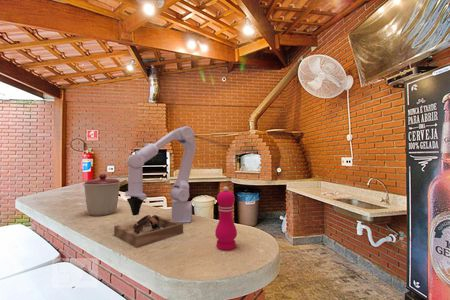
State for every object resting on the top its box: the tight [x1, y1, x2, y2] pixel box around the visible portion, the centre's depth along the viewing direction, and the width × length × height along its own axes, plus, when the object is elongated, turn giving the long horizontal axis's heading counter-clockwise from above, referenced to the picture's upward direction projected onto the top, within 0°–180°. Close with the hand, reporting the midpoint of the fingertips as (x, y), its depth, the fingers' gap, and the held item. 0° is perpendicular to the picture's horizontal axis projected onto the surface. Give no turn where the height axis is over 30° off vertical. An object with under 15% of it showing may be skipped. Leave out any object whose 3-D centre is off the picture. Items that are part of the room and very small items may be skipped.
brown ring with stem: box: [132, 214, 161, 234], centre depth 91 cm, size 12×10×8 cm
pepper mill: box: [214, 186, 238, 251], centre depth 77 cm, size 7×7×20 cm
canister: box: [82, 173, 122, 217], centre depth 122 cm, size 18×18×21 cm
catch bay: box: [113, 215, 184, 248], centre depth 89 cm, size 18×19×4 cm
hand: (135, 214), depth 97 cm, fingers closed
